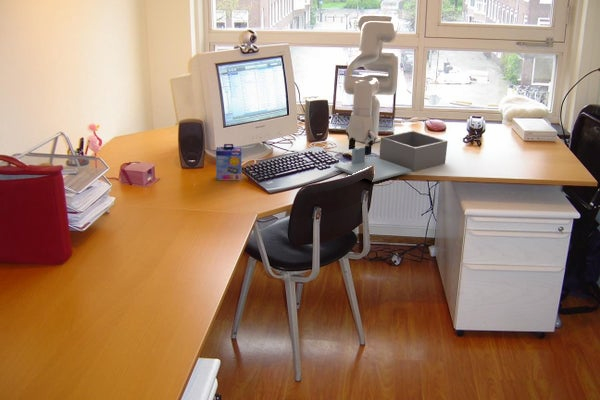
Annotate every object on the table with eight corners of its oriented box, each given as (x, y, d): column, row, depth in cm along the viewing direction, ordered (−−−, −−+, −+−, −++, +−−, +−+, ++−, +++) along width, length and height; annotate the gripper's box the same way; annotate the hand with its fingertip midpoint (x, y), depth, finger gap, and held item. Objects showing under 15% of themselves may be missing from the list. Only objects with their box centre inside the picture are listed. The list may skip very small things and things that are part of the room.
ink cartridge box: (216, 180, 259) (215, 144, 254) (216, 176, 264) (215, 140, 259) (241, 180, 260) (241, 144, 254) (241, 176, 265) (241, 140, 260)
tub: (379, 159, 290) (380, 137, 286) (410, 152, 301) (412, 130, 298) (413, 171, 275) (415, 148, 271) (445, 163, 287) (447, 140, 283)
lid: (334, 170, 274) (335, 151, 271) (372, 161, 287) (373, 142, 284) (371, 184, 258) (373, 164, 255) (410, 174, 271) (412, 155, 268)
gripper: (340, 108, 274) (339, 148, 280) (370, 116, 261) (367, 158, 268) (354, 106, 278) (352, 145, 285) (383, 114, 266) (380, 155, 272)
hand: (359, 151), depth 276 cm, fingers open, 9 cm apart
